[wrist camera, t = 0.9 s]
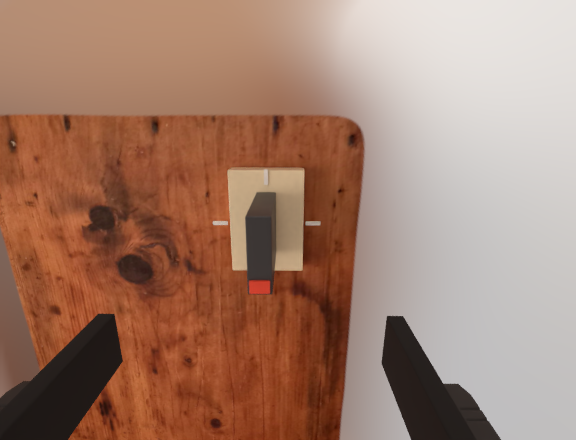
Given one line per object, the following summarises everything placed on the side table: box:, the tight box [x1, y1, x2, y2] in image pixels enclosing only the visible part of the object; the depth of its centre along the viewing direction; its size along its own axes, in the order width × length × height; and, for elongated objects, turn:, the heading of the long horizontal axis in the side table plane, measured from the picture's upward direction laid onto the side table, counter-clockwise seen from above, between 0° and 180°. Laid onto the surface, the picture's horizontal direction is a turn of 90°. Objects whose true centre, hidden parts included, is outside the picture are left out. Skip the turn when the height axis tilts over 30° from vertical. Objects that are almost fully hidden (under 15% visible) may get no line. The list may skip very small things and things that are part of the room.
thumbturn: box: [245, 192, 276, 294], centre depth 26 cm, size 6×2×8 cm, turn 0°
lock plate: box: [213, 167, 320, 271], centre depth 31 cm, size 10×10×2 cm
